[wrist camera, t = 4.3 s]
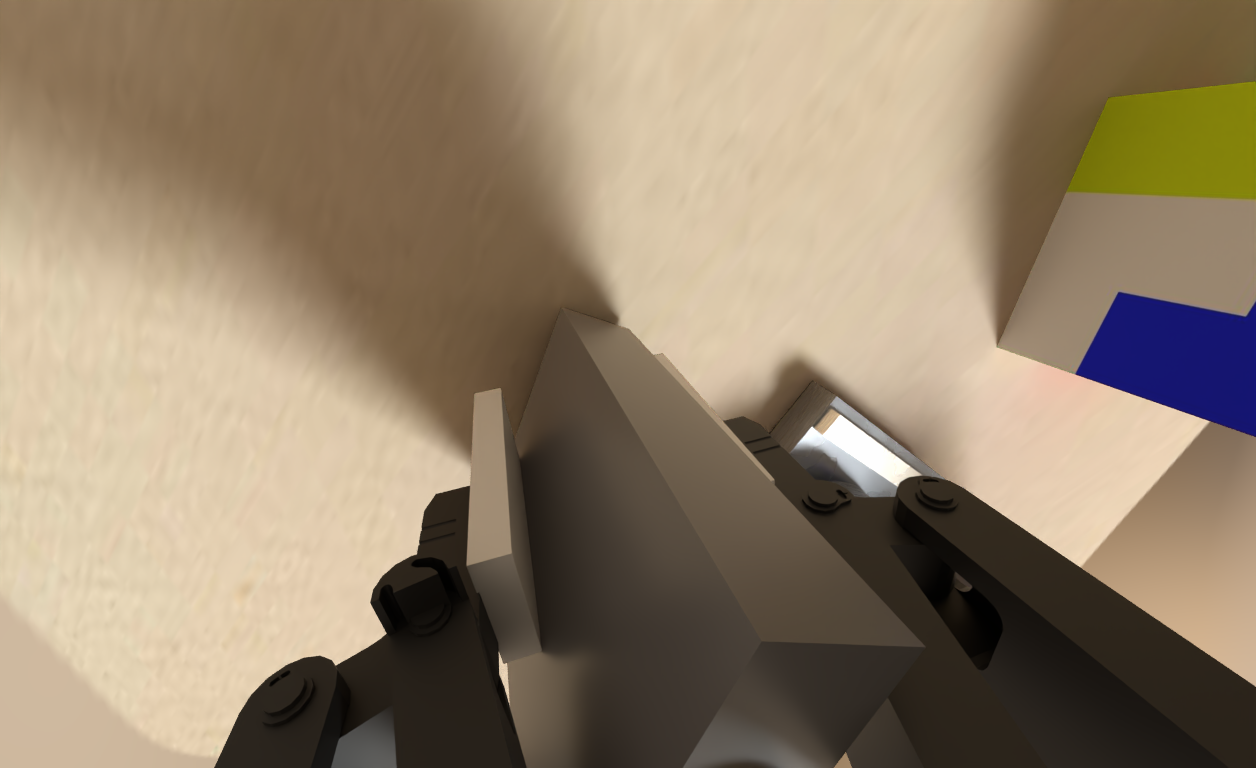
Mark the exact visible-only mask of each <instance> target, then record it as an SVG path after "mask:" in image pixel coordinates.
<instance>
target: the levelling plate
mask: <svg viewBox="0 0 1256 768" xmlns="http://www.w3.org/2000/svg"><path fill="white" fill-rule="evenodd" d="M770 435H771V438H774V439H775V440H776V441H777V442H778V443H779V444H780V446H781V447H783V448H784V449H785V450H786V451H787V452H788V453H789V454H790V455H791V456H792V457H793V458H794V459H795V460H796V461H797V462H798V463H799V464H800V465H801V466H802V467H803V468H804V469H805V470H806V471H807V472H808V473H809V474H810V475H811V476H812V477H813V478H814V479H815V480H825V481H829V482H833V483H836V484H838V485H840V486H842V487H844V488H846V489H848V490H849V491H850V492H851V493H852V494H853V495H854V496H855V497H895V495H896V490H897V487H898V485H899V483H900V482H901V481H903V480H904V479H906V478H908V477H914V476H920V475H921V476H932V477H938V478H941V479H944V478H943V477H941V476H940V475H939V474H938V473H936V472H935V471H934V470H932V469H931V468H930V467H928V466H927V465H926V464H924V463H923V462H922V461H921V460H919V459H918V458H917V457H915V456H914V455H913V454H911V453H910V452H909V451H908V450H906V449H905V448H904V447H902V446H901V445H900V444H898V443H897V442H896V441H895V440H893V439H892V438H891V437H889V436H888V435H887V434H885V433H884V432H883V431H882V430H880V429H879V428H878V427H876V426H875V425H874V424H872V423H871V422H870V421H869V420H867V419H866V418H865V417H863V416H862V415H861V414H859V413H858V412H857V411H855V410H854V409H853V408H852V407H850V406H849V405H848V404H846V403H845V402H844V401H842V400H841V399H840V398H839V397H837V396H836V395H834V394H833V393H831V392H830V391H828V390H826V389H825V388H823V387H822V386H820V385H819V384H817V383H815V382H814V381H812V382H811V383H810V385H809V386H808V387H807V388H806V390H805V391H804V392H803V393H802V394H801V396H800V397H799V398H798V399H797V401H796V402H795V403H794V404H793V406H792V407H791V408H790V409H789V411H788V412H787V413H786V414H785V416H784V417H783V418H782V419H781V420H780V422H779V423H778V424H777V425H776V427H775V428H774V429H773V430H772V432H771V433H770ZM944 480H945V479H944Z"/></svg>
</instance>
